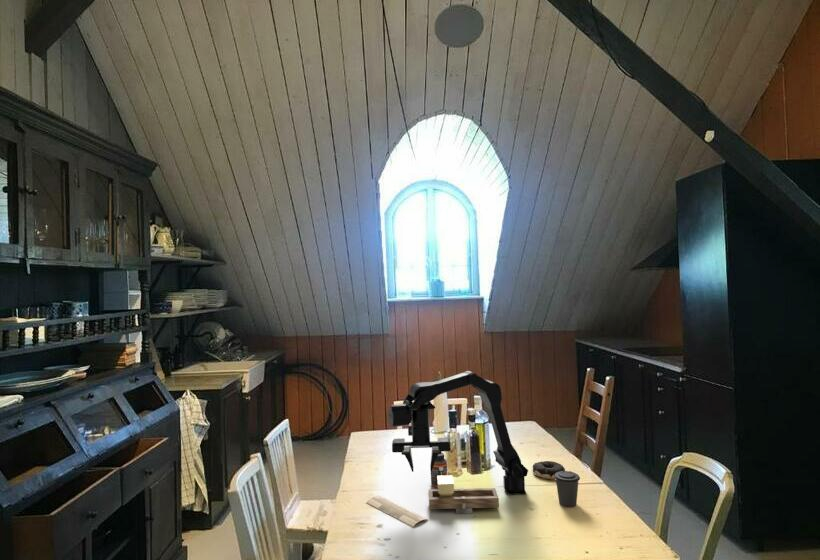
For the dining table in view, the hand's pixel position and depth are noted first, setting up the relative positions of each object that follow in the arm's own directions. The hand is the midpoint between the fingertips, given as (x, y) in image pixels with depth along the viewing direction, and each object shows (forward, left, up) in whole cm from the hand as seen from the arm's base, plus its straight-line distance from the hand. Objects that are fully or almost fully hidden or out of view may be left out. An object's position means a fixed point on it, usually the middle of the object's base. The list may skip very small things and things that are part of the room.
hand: (421, 471), depth 164 cm
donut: (-47, -26, -12) cm, 55 cm away
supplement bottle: (-6, -18, -12) cm, 23 cm away
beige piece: (+9, +2, -13) cm, 16 cm away
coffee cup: (-47, -1, -12) cm, 49 cm away
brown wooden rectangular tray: (-13, 0, -12) cm, 18 cm away
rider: (-8, 0, -9) cm, 12 cm away
